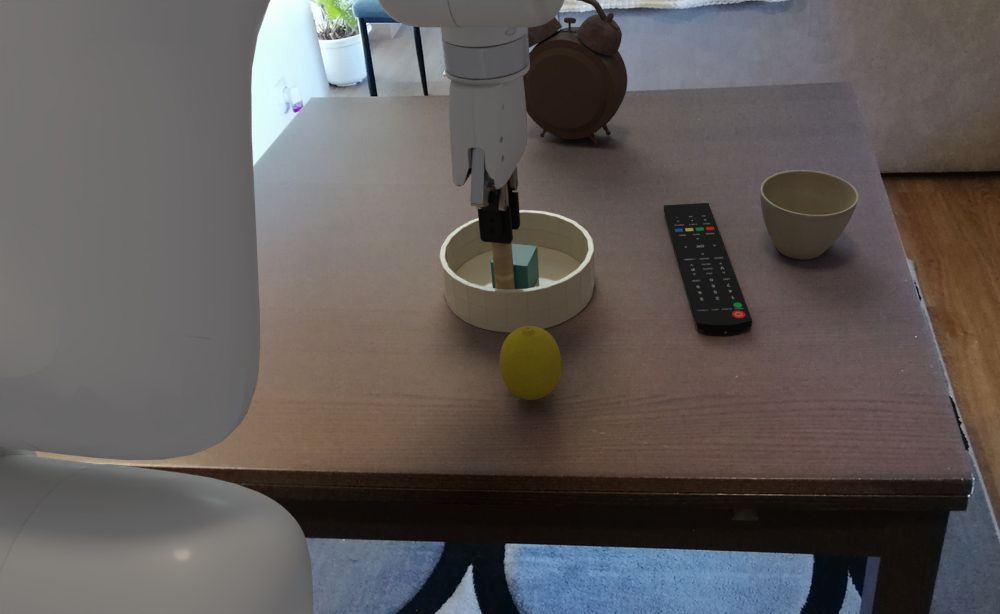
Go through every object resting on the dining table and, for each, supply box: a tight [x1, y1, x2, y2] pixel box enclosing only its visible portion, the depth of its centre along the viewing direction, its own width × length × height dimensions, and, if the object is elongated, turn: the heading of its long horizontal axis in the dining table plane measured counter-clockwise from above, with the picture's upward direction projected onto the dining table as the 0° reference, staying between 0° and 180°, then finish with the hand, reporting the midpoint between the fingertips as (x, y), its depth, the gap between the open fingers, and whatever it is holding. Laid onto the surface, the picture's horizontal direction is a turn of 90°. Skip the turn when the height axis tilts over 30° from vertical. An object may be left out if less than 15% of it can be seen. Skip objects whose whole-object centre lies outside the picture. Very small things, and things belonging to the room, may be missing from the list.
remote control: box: [663, 202, 753, 337], centre depth 95 cm, size 5×24×1 cm, turn 179°
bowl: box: [438, 209, 595, 334], centre depth 93 cm, size 16×16×5 cm
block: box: [491, 244, 539, 289], centre depth 93 cm, size 4×4×4 cm
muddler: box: [487, 183, 515, 290], centre depth 88 cm, size 2×2×13 cm
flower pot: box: [759, 169, 860, 261], centre depth 95 cm, size 10×10×7 cm
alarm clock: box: [523, 0, 628, 146], centre depth 119 cm, size 15×7×20 cm, turn 65°
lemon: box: [499, 326, 563, 401], centre depth 78 cm, size 6×6×8 cm
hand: (500, 233), depth 87 cm, fingers closed on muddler, 2 cm apart
